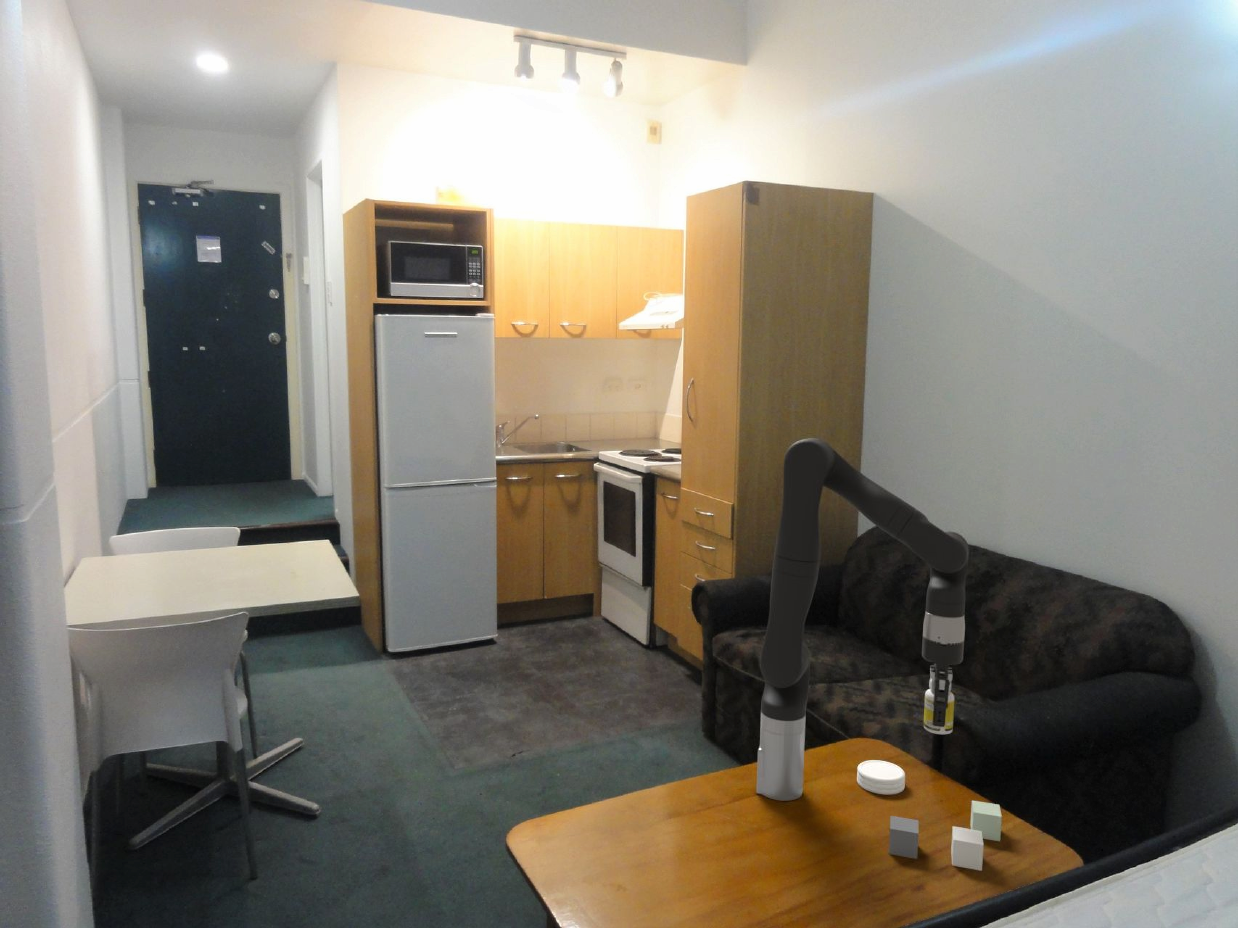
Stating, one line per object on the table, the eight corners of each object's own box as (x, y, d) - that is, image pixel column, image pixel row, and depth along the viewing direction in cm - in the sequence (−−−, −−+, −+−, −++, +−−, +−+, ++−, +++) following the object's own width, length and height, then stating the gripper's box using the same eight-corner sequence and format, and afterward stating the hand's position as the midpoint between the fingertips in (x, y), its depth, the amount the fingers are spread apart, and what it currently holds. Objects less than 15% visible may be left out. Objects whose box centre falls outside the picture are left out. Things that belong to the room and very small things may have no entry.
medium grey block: (888, 854, 162) (889, 828, 161) (889, 840, 166) (890, 815, 166) (917, 859, 160) (918, 833, 160) (917, 845, 165) (918, 820, 164)
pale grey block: (952, 865, 158) (953, 839, 158) (951, 851, 163) (952, 825, 162) (981, 871, 157) (983, 844, 156) (980, 856, 161) (981, 830, 161)
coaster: (848, 776, 193) (849, 761, 193) (888, 772, 195) (889, 757, 195) (871, 798, 183) (872, 782, 183) (913, 793, 186) (914, 777, 185)
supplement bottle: (948, 724, 173) (951, 676, 172) (956, 736, 168) (959, 686, 167) (920, 723, 174) (923, 675, 173) (927, 734, 168) (930, 685, 167)
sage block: (971, 836, 168) (973, 812, 168) (970, 824, 173) (971, 800, 172) (1000, 841, 167) (1001, 816, 166) (997, 828, 171) (999, 804, 171)
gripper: (922, 623, 177) (918, 704, 179) (923, 644, 163) (918, 731, 165) (962, 627, 174) (957, 709, 176) (966, 648, 161) (960, 737, 163)
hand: (938, 719), depth 171 cm, fingers closed on supplement bottle, 5 cm apart
